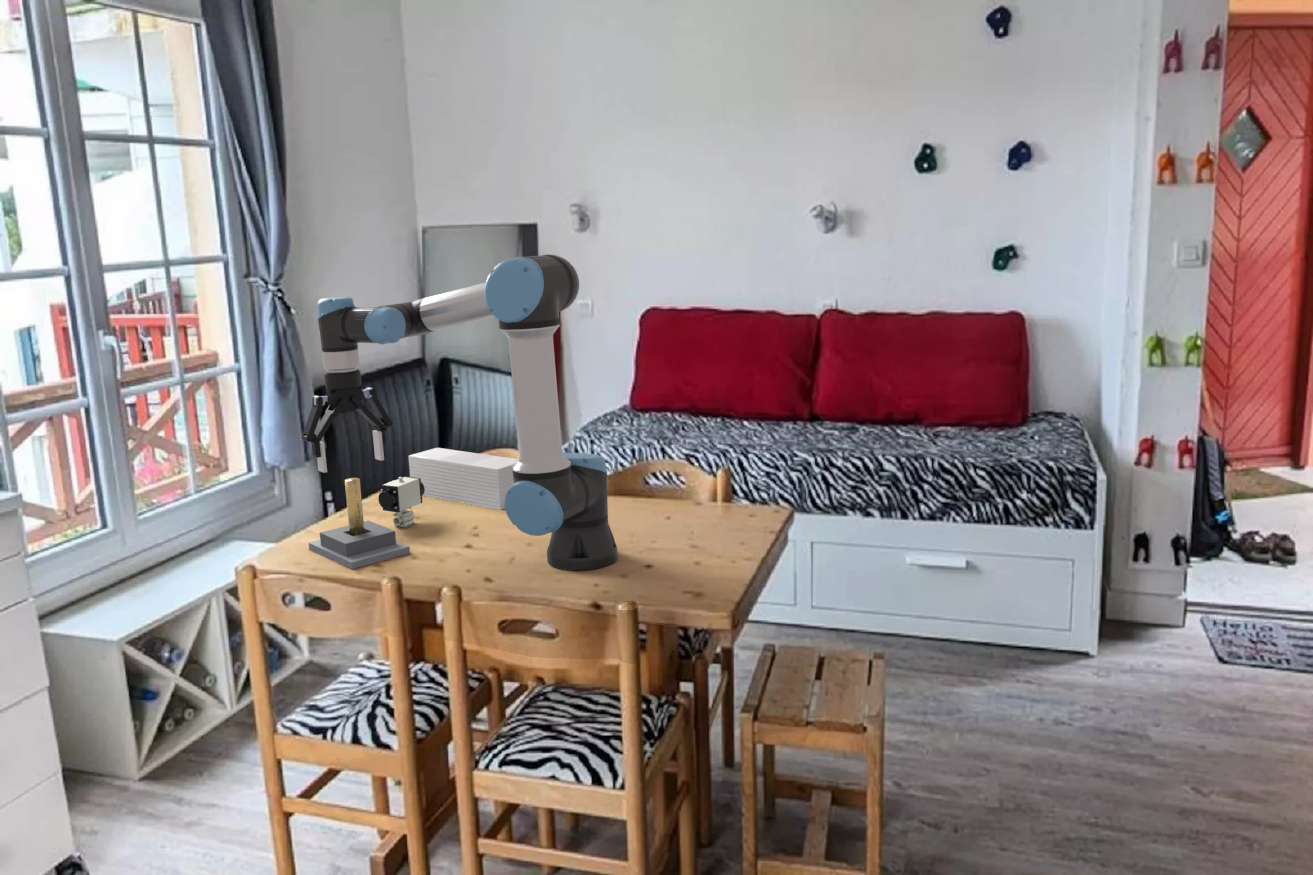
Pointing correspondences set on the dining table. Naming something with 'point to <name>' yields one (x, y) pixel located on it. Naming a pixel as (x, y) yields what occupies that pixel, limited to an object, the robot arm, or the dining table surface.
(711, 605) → the dining table surface
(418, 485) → the pneumatic valve
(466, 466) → the stack of papers
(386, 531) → the grey socket base
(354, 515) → the brass pin
